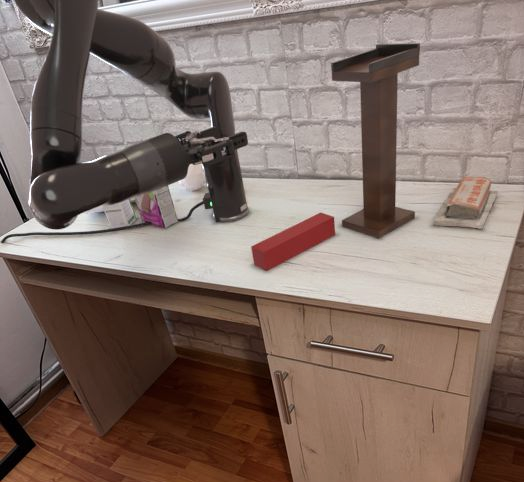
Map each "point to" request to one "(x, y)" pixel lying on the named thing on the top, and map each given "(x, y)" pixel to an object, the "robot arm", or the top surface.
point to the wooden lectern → (378, 132)
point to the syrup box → (120, 214)
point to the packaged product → (467, 204)
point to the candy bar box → (157, 207)
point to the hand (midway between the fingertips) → (231, 134)
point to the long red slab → (293, 241)
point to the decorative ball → (193, 178)
